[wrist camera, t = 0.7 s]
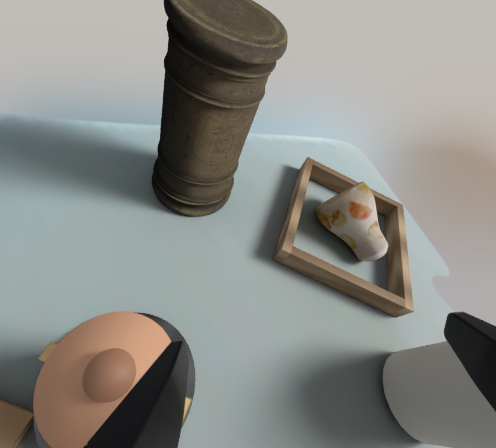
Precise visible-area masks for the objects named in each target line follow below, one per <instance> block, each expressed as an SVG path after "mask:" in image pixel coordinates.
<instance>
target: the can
mask: <svg viewBox="0 0 496 448" xmlns="http://www.w3.org/2000/svg"><path fill="white" fill-rule="evenodd" d="M383 386H384V392H385V397H386V399H387V402H388V404H389V407H390V409H391V412H392V413H393V415H394V416H395V418H396V419H397V421H398V423H399V424H400V426H401V427H402V428H403V429H404V430H405V431H406V432H407V433H408V434H409V435H410V436H411V437H413V438H415V439H417V440H418V441H420V442H422V443H425V444H432V445H439V446H446V447H453V448H496V412H495V410H494V409H493V408H492V406H491V405H490V404H489V402H488V401H487V400H486V399H485V397H484V396H483V395H482V393H481V392H480V391H479V389H478V388H477V386H476V385H475V384H474V382H473V381H472V379H471V378H470V376H469V374H468V373H467V371H466V370H465V368H464V367H463V365H462V363H461V362H460V360H459V359H458V357H457V356H456V354H455V352H454V351H453V349H452V348H451V346H450V345H449V343H448V341H446V342H441V343H436V344H431V345H426V346H421V347H417V348H412V349H407V350H402V351H398V352H394V353H392V354H391V355H390V356H389V357H388V358H387V360H386V363H385V365H384V368H383Z"/></svg>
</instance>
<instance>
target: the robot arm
mask: <svg viewBox="0 0 496 448" xmlns="http://www.w3.org/2000/svg"><path fill="white" fill-rule="evenodd" d="M444 335H445V338H446V340H447V341H448V343H449V345H450V346H451V348H452V349H453V351H454V352H455V354H456V356H457V357H458V359H459V360H460V362H461V363H462V365H463V367H464V368H465V370H466V371H467V373H468V374H469V376H470V378H471V379H472V381H473V382H474V384H475V385H476V386H477V388H478V389H479V391H480V392H481V393H482V395H483V396H484V397H485V399H486V400H487V401H488V402H489V404H490V405H491V406H492V408H493V409H494V410H495V412H496V326H494V325H492V324H489V323H487V322H485V321H483V320H480V319H478V318H476V317H474V316H471V315H469V314H467V313H465V312H453V313H449V314H448V316H447V320H446V324H445V328H444ZM188 369H189V357H188V353H187V349H186V345H185V342H184V341H183V340H178V341H172V342H171V343H170V344H169V345H168V346H167V347H166V348H165V350H164V351H163V352H162V353H161V354H160V356H159V357H158V358H157V359H156V360H155V362H154V363H153V364H152V365H151V366H150V368H149V369H148V370H147V371H146V372H145V374H144V375H143V376H142V377H141V378H140V380H139V381H138V382H137V383H136V384H135V386H134V387H133V388H132V389H131V390H130V392H129V393H128V394H127V395H126V396H125V398H124V399H123V400H122V401H121V402H120V404H119V405H118V406H117V407H116V408H115V410H114V411H113V412H112V413H111V414H110V416H109V417H108V418H107V419H106V420H105V422H104V423H103V424H102V425H101V426H100V428H99V429H98V430H97V431H96V432H95V434H94V435H93V436H92V437H91V438H90V440H89V441H88V442H87V445H85V446H84V447H83V448H177V447H178V442H179V437H180V432H181V427H182V422H183V417H184V409H185V400H186V389H187V379H188Z"/></svg>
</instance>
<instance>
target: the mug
mask: <svg viewBox="0 0 496 448" xmlns="http://www.w3.org/2000/svg"><path fill="white" fill-rule="evenodd" d="M315 211H316V214H317V217H318V219H319V220H320V222H321V223H322V224H323V225H324V226H325V227H326V228H327V229H328V230H330V231H331V232H332V233H334V234H335V235H337V236H338V237H339V238H341V239H342V240H344V241H345V242H346V243H347V244H348V245H349V246H350V247H351V249H352V250H353V251H354V253H355V254H356V256H357V257H358V259H360V260H363V261H367V262H369V261H373V260H376V259H379V258H381V257H382V256H384V255H385V253H386V252H387V248H388V242H387V241H386V239H385V237H384V236H383V234H382V232H381V230H380V227H379V224H378V217H377V210H376V203H375V199H374V196H373V193H372V191H371V190H370V188H369V187H368V186H367V185H366V184H365V183H364V182H360V183H358V184H356V185H354V186H353V187H351V188H349V189H347V190H345V191H343V192H342V193H340V194H338V195H336V196H334V197H333V198H331V199H329V200H328V201H326V202H324V203H322V204H321V205H319V206H317V207H316V208H315Z"/></svg>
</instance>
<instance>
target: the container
mask: <svg viewBox="0 0 496 448" xmlns="http://www.w3.org/2000/svg"><path fill="white" fill-rule="evenodd" d="M164 8H165V12H166V14H167V16H168V18H169V19H168V21H167V31H168V36H169V41H168V52H167V54H166V56H165V59H164V67H165V80H164V92H163V107H162V118H161V129H160V130H161V133H160V141H159V144H158V158H157V160H156V162H155V164H154V168H153V175H152V186H153V190H154V192H155V195H156V196H157V198H158V199H159V201H160V202H161V203H162V204H163V205H164V206H166V207H167V208H168V209H170V210H172V211H174V212H176V213H179V214H182V215H186V216H205V215H209V214H212V213H214V212H216V211H218V210H219V209H221V208H222V207H223V206H224V205H225V203H226V202H227V201H228V199H229V197H230V194H231V189H232V187H233V183H234V178H233V175H234V173H235V171H236V170H237V167H238V159H239V157H240V154H241V151H242V148H243V145H244V143H245V140H246V137H247V135H248V132H249V130H250V127H251V124H252V122H253V119H254V117H255V114H256V111H257V109H258V106H259V103H260V101H261V100H262V98H263V97H264V94H265V85H266V82H267V79H268V76H269V75H270V74H271V72H272V71H273V70H274V68H275V65H276V60H278V59H279V58H281V57H282V55H283V54H284V52H285V50H286V47H287V32H286V29H285V27H284V26H283V24H282V23H281V22H280V21H279V20H278V19H277V18H276V17H275V16H274V15H273V14H272V13H271V12H270V11H268V10H266V9H265V8H263V7H262V6H261V5H259V4H257V3H256V2H254V1H252V0H164Z"/></svg>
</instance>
